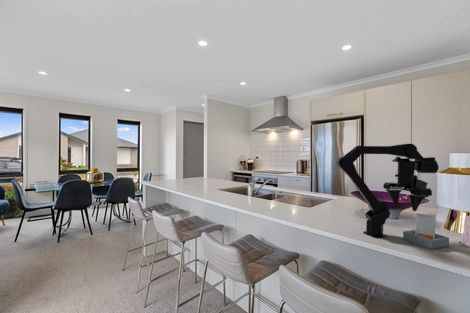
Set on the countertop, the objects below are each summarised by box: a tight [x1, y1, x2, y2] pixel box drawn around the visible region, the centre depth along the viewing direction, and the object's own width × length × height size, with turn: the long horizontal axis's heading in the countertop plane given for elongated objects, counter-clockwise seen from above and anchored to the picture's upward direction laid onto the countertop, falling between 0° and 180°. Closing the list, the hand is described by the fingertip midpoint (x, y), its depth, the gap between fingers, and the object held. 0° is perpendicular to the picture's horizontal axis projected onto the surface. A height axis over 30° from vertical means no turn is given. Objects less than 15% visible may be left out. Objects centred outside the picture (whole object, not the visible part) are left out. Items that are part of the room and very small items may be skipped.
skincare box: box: [414, 210, 437, 240], centre depth 89 cm, size 6×4×12 cm
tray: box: [402, 229, 450, 251], centre depth 90 cm, size 10×10×4 cm
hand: (405, 208), depth 95 cm, fingers open, 9 cm apart
